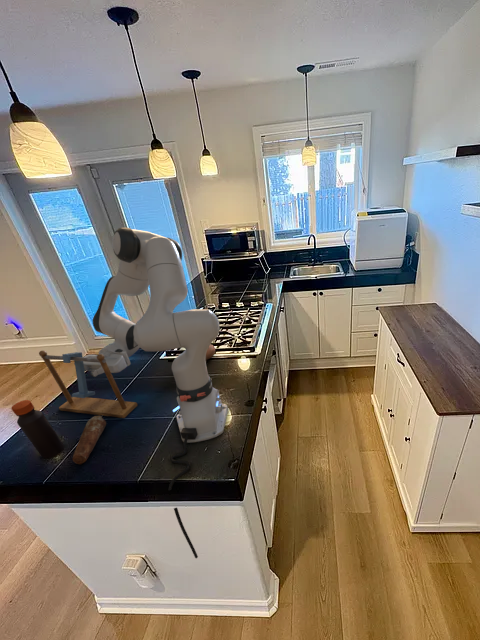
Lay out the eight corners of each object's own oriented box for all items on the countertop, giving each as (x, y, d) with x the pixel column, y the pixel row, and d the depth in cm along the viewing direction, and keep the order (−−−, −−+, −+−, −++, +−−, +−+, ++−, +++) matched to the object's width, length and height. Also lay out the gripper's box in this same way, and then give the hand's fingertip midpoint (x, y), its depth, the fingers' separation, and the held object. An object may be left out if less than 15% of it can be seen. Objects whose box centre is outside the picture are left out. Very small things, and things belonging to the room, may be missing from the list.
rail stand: (137, 405, 125) (113, 349, 111) (124, 418, 118) (96, 360, 105) (75, 398, 133) (45, 345, 119) (60, 410, 126) (26, 355, 112)
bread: (109, 425, 115) (103, 413, 112) (89, 465, 99) (81, 452, 96) (92, 428, 115) (85, 416, 112) (68, 468, 99) (60, 455, 96)
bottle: (69, 445, 108) (39, 399, 97) (52, 460, 103) (18, 412, 91) (54, 443, 110) (22, 397, 99) (37, 457, 104) (1, 410, 93)
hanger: (84, 393, 122) (78, 351, 118) (95, 394, 120) (89, 351, 116) (66, 398, 115) (58, 354, 111) (77, 399, 113) (70, 354, 109)
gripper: (87, 348, 130) (59, 365, 119) (128, 351, 125) (103, 368, 114) (93, 361, 134) (67, 379, 123) (134, 364, 129) (110, 383, 118)
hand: (85, 374), depth 119 cm, fingers open, 5 cm apart
